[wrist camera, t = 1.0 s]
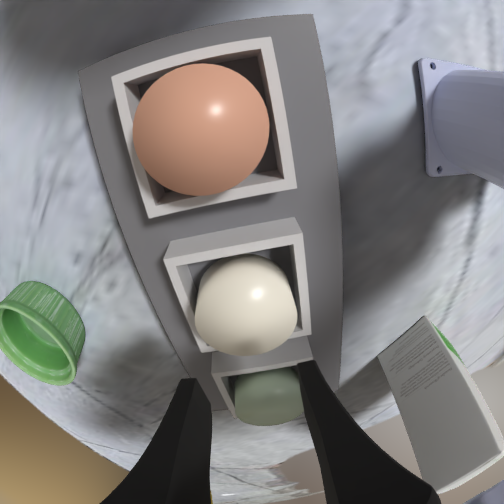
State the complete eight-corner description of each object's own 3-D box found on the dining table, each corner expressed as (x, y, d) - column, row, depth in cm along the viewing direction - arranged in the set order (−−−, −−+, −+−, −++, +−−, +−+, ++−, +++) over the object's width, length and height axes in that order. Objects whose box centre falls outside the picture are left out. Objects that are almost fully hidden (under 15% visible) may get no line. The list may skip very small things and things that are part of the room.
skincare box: (450, 341, 25) (512, 449, 12) (406, 378, 28) (453, 489, 14) (423, 312, 22) (507, 452, 9) (370, 357, 25) (426, 501, 11)
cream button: (283, 245, 15) (292, 270, 13) (293, 318, 17) (300, 346, 15) (187, 263, 15) (180, 290, 13) (212, 331, 17) (210, 361, 15)
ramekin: (41, 350, 23) (25, 381, 19) (-2, 278, 18) (-27, 307, 15) (107, 352, 23) (94, 390, 19) (63, 267, 18) (36, 303, 14)
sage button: (298, 359, 19) (304, 386, 17) (302, 395, 21) (307, 419, 19) (227, 370, 19) (227, 398, 17) (242, 405, 22) (243, 429, 20)
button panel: (303, 23, 12) (324, 2, 8) (333, 373, 25) (343, 407, 22) (94, 73, 12) (58, 69, 9) (210, 394, 26) (209, 428, 22)
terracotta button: (251, 61, 10) (256, 51, 8) (271, 168, 13) (279, 181, 11) (139, 89, 11) (119, 86, 8) (165, 190, 13) (152, 208, 11)
